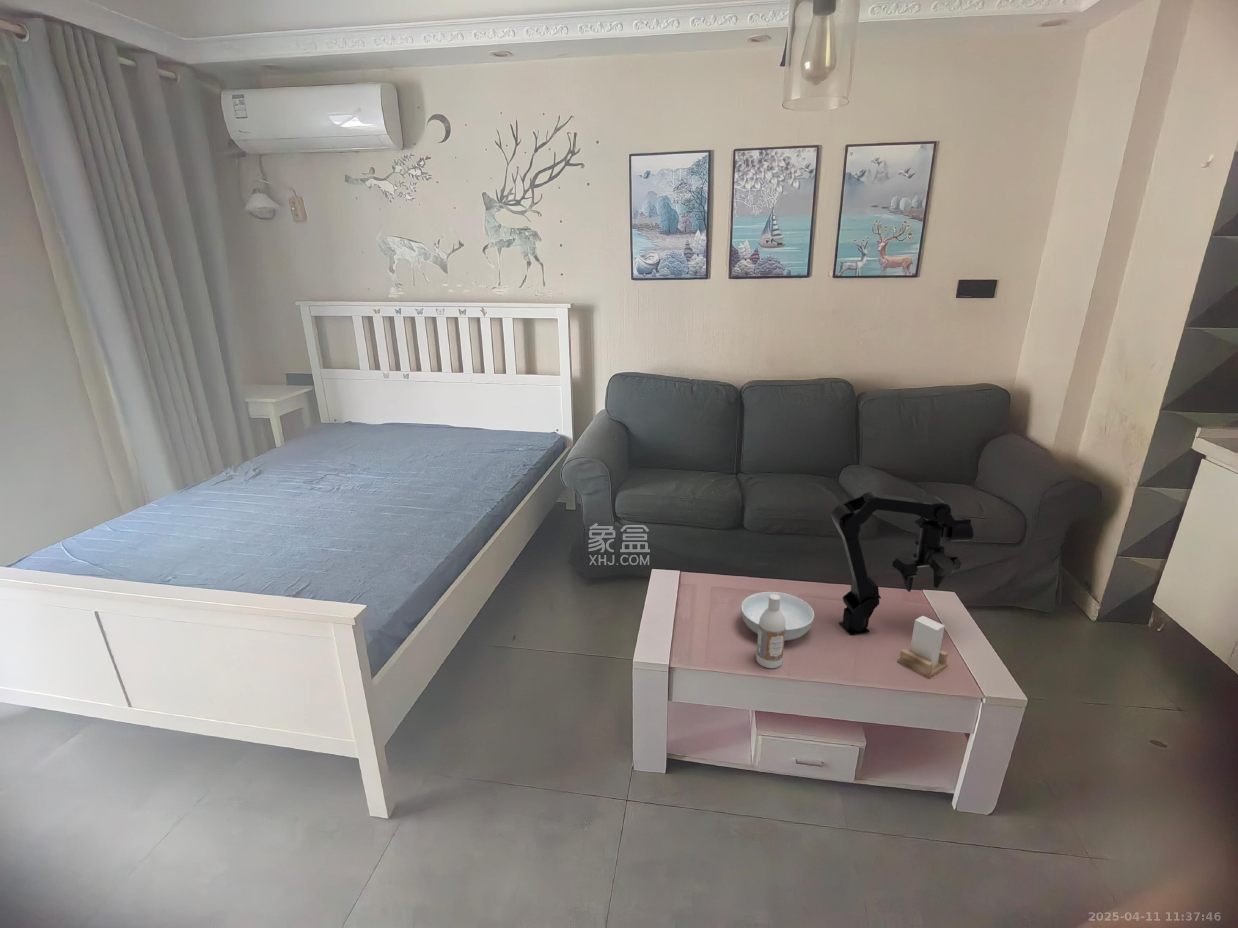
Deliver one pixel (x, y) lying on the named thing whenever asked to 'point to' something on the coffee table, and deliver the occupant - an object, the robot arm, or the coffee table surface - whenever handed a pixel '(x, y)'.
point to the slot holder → (923, 663)
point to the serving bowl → (791, 607)
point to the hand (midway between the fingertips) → (922, 589)
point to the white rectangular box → (927, 639)
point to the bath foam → (771, 635)
